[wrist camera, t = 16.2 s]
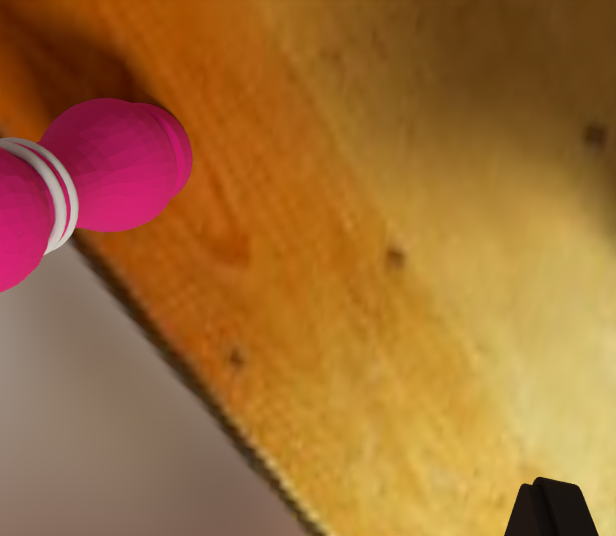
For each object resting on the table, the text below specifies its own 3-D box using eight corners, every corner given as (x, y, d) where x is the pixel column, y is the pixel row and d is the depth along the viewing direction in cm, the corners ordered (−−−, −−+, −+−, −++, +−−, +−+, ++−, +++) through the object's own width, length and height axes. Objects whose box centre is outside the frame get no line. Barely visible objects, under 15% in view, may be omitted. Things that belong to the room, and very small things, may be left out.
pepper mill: (134, 67, 34) (-194, 74, 15) (224, 152, 35) (17, 256, 16) (70, 155, 36) (-277, 252, 18) (156, 232, 37) (-90, 401, 19)
